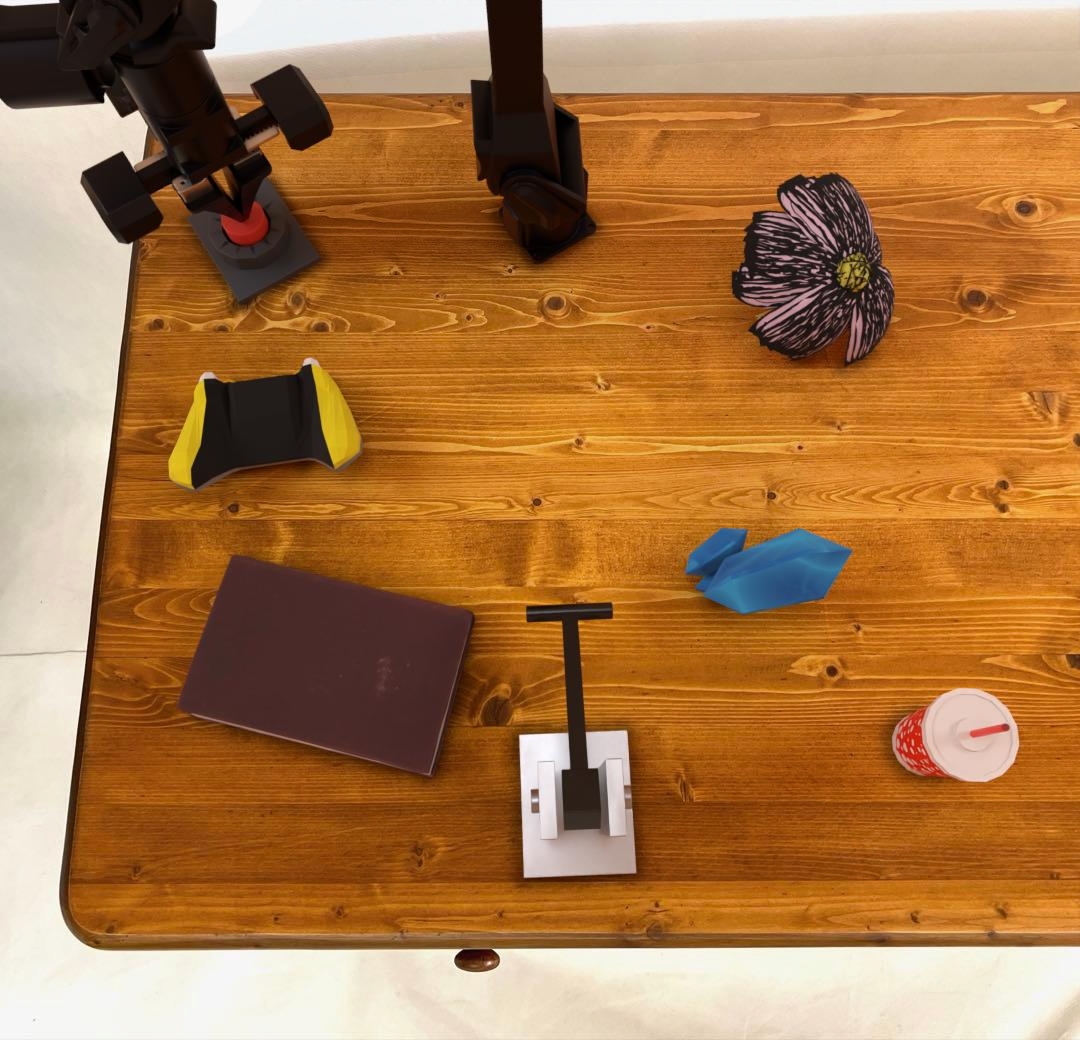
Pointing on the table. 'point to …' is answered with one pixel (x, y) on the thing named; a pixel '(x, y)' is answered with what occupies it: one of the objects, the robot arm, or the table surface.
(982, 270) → the table surface
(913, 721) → the beverage cup
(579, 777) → the lever
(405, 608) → the book
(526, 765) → the bracket
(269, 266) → the control block
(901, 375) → the table surface
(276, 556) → the table surface
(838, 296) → the decorative flower
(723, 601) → the crystal
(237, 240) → the button
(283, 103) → the robot arm
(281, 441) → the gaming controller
